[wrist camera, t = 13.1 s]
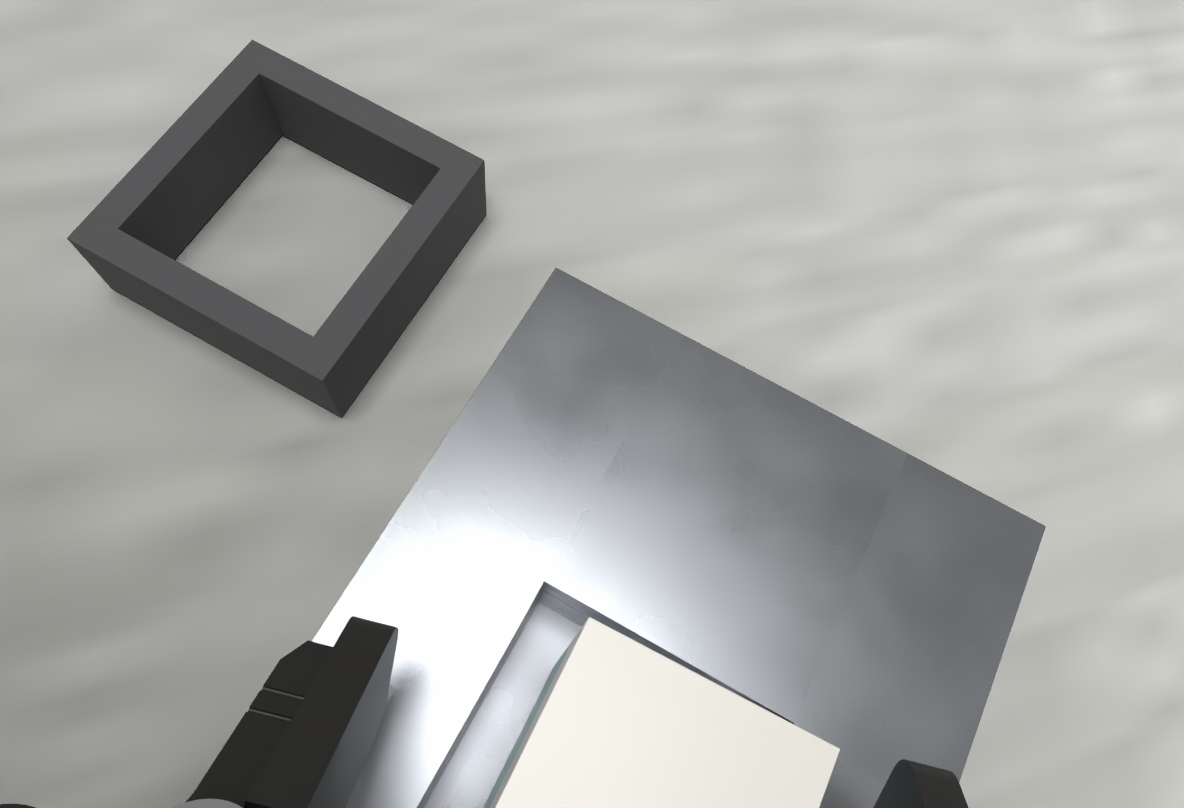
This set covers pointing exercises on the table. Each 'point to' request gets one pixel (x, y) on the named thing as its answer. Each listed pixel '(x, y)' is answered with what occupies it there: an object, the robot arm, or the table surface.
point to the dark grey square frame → (217, 167)
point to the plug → (653, 739)
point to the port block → (677, 559)
